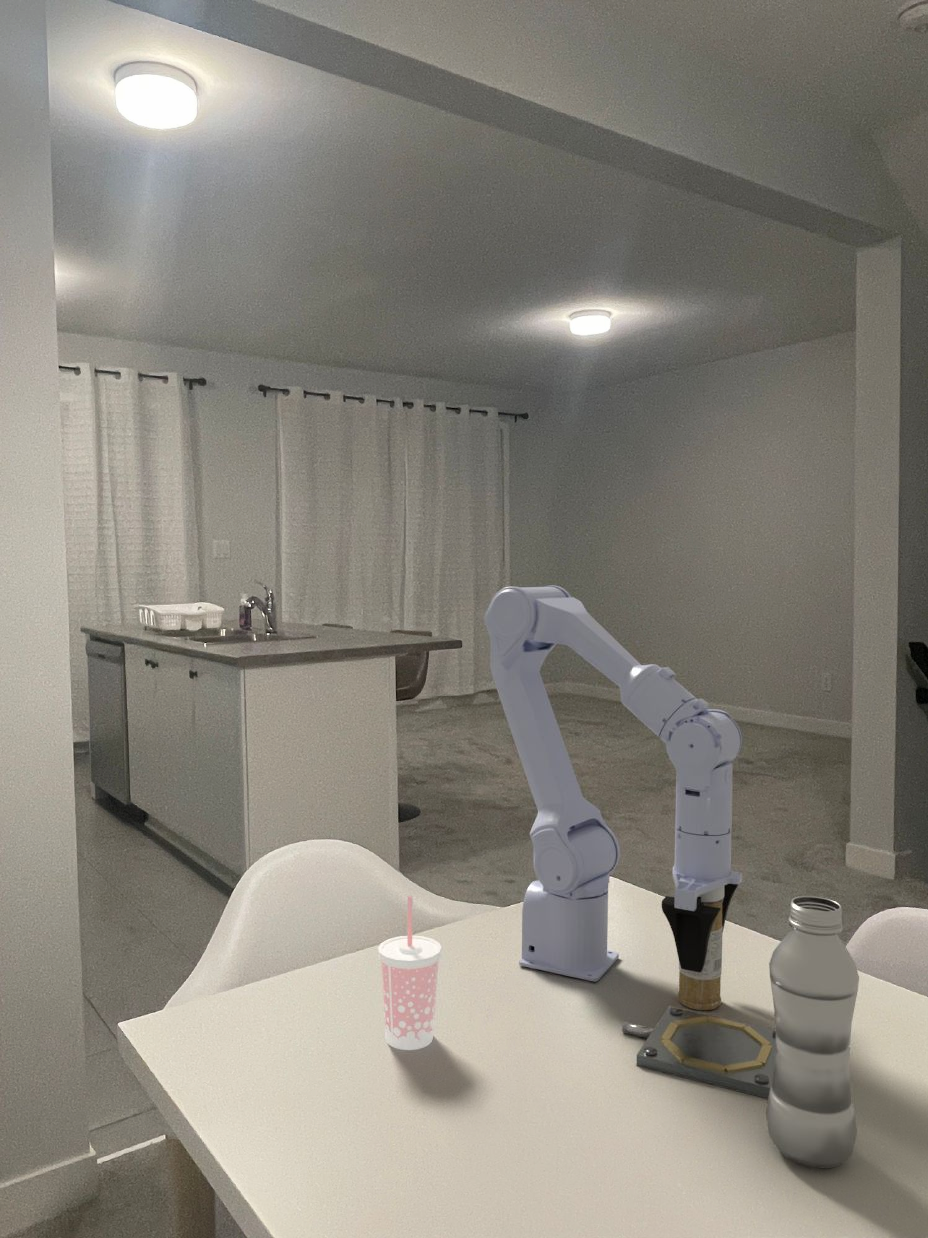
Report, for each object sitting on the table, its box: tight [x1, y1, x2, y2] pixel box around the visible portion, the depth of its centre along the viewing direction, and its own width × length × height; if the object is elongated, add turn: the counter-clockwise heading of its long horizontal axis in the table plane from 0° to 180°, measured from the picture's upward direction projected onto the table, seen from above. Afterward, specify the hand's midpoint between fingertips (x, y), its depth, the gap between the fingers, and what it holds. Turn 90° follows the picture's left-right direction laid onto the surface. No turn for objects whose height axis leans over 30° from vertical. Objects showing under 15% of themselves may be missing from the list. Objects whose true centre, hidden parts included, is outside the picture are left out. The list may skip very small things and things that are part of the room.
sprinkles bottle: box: [677, 886, 724, 1011], centre depth 101 cm, size 5×5×14 cm
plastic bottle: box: [765, 895, 860, 1169], centre depth 75 cm, size 6×7×20 cm
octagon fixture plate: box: [621, 1005, 776, 1100], centre depth 91 cm, size 15×11×1 cm
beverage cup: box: [377, 895, 443, 1051], centre depth 93 cm, size 6×6×14 cm
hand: (700, 956), depth 101 cm, fingers open, 7 cm apart
